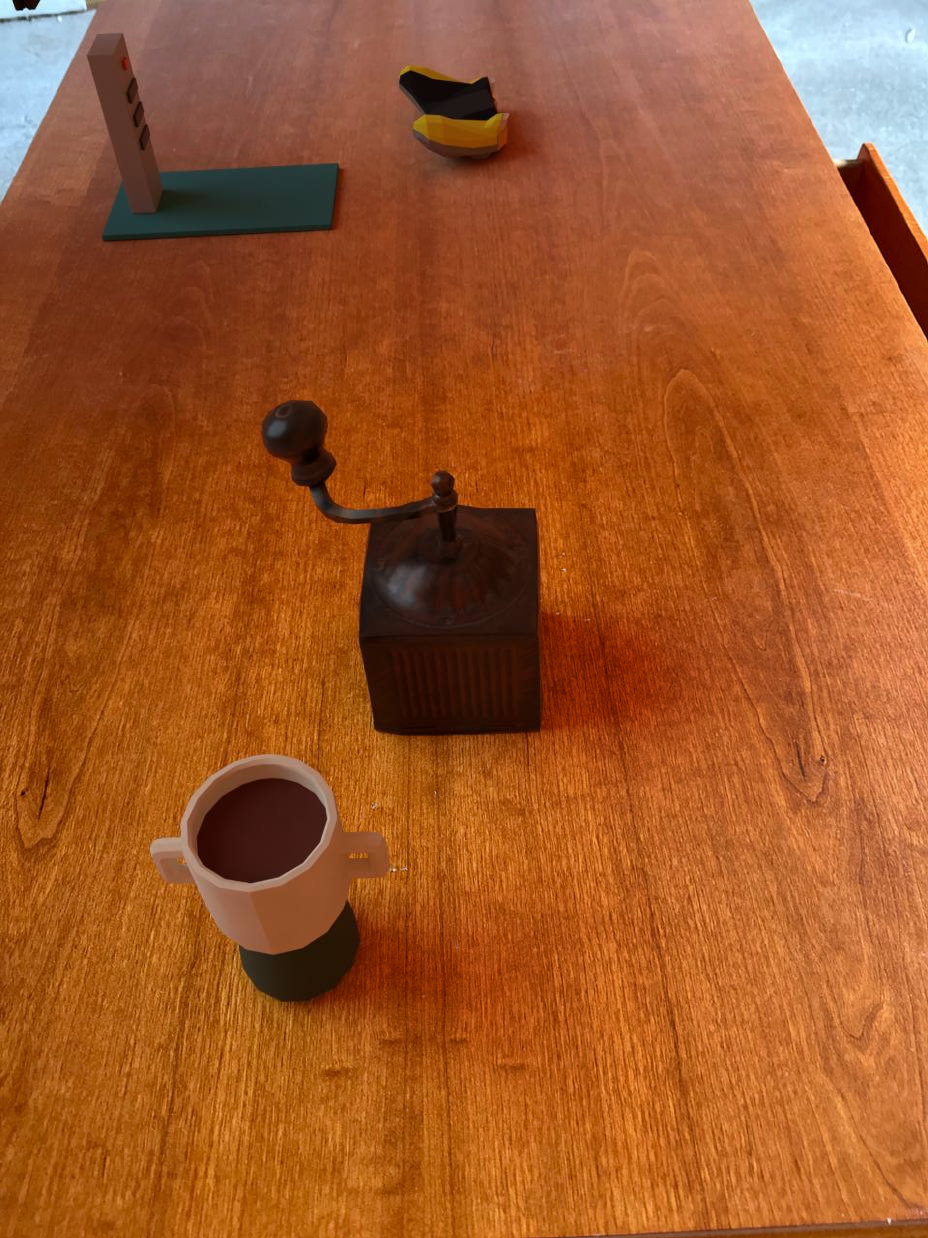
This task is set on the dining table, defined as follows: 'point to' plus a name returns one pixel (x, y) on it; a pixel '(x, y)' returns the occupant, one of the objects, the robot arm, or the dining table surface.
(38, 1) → the robot arm
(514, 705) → the manual coffee grinder
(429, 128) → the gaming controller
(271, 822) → the character mug
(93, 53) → the remote
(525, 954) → the dining table surface
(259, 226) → the felt mat
